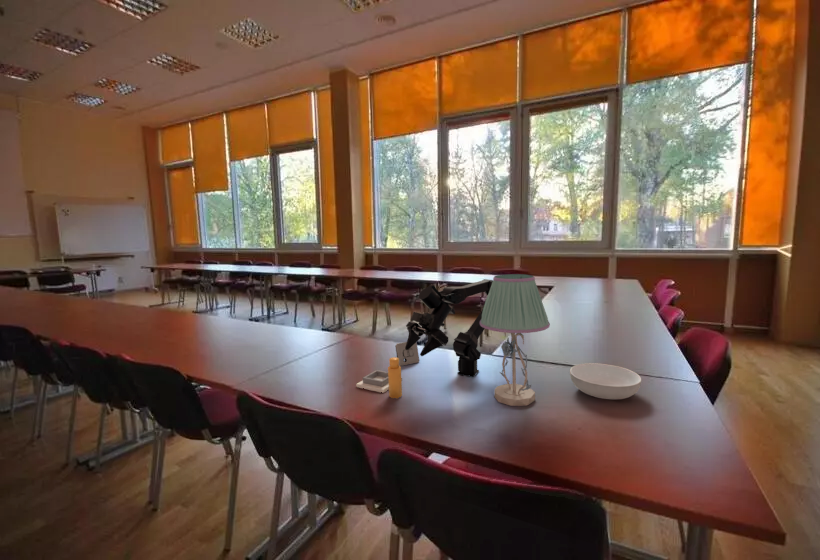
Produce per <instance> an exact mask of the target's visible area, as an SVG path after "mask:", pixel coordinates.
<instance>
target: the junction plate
mask: <svg viewBox="0 0 820 560" xmlns="http://www.w3.org/2000/svg"><path fill="white" fill-rule="evenodd" d="M401 381H402V382H403V378H402V377H401ZM356 388H358V389H359V388H360V389H363V388H364V389H365V390H369V391H372V392H377V393H381V392H382V394H385V393H386V392H387V390H388V391H389V381H388V371H384V370H379V369H376V370H374V371H372V372H370V373H369V374H367V375H365V376H363V377H362V380H361V381H359V382H358V383H356ZM364 389H363V390H364Z"/></svg>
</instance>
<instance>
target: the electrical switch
mask: <svg viewBox="0 0 820 560" xmlns="http://www.w3.org/2000/svg"><path fill="white" fill-rule="evenodd" d="M417 342H418V341H417ZM417 342H416V343H415V344H414V345H413V346H412V347H411V348H409V349H408V350H406V349H405V347H406V343H407V341H403V342H398V343H396V344H395V354H396V357H397V358H399V366H401V367H402V366H407V365H411V364H412V365H413V364H416V363H420V353H419V350H418V343H417Z"/></svg>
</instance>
